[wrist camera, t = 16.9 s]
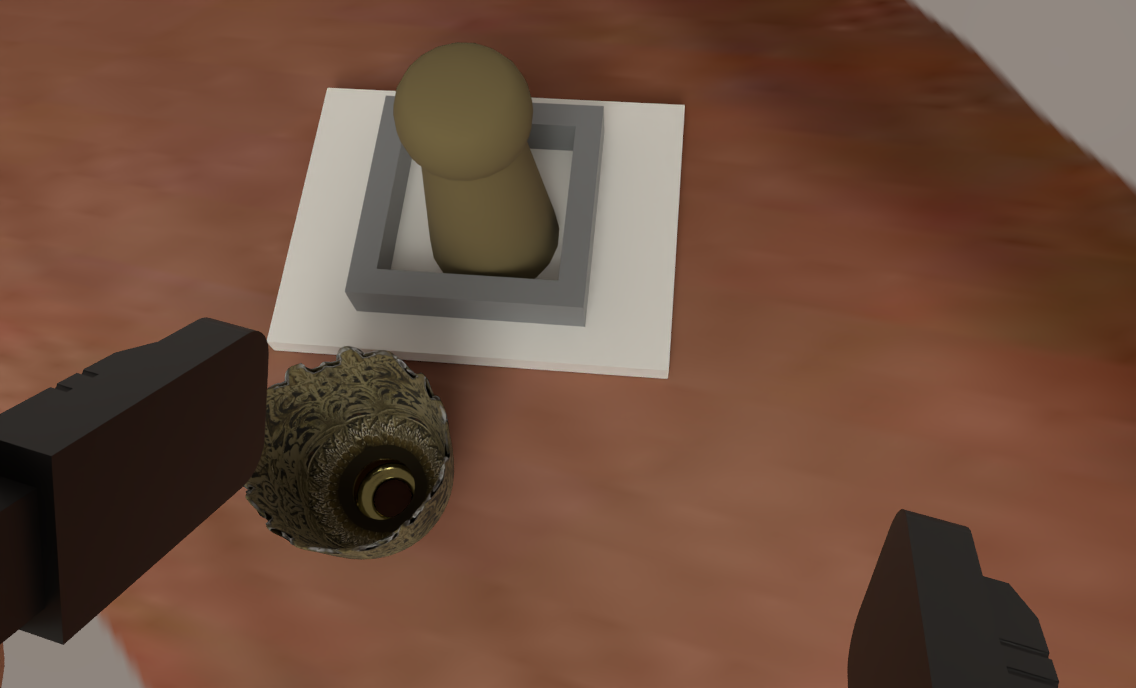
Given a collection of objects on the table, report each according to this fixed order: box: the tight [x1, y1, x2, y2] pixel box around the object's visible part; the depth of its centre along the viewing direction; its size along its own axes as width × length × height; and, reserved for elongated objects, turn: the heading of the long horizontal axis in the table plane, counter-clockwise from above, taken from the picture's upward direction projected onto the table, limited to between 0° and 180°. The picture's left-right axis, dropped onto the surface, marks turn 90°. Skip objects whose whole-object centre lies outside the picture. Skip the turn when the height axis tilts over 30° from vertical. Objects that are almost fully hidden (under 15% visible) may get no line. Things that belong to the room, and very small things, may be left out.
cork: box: [393, 43, 559, 279], centre depth 39 cm, size 6×6×11 cm
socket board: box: [267, 88, 685, 379], centre depth 44 cm, size 18×14×3 cm
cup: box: [243, 346, 454, 559], centre depth 36 cm, size 8×7×8 cm
